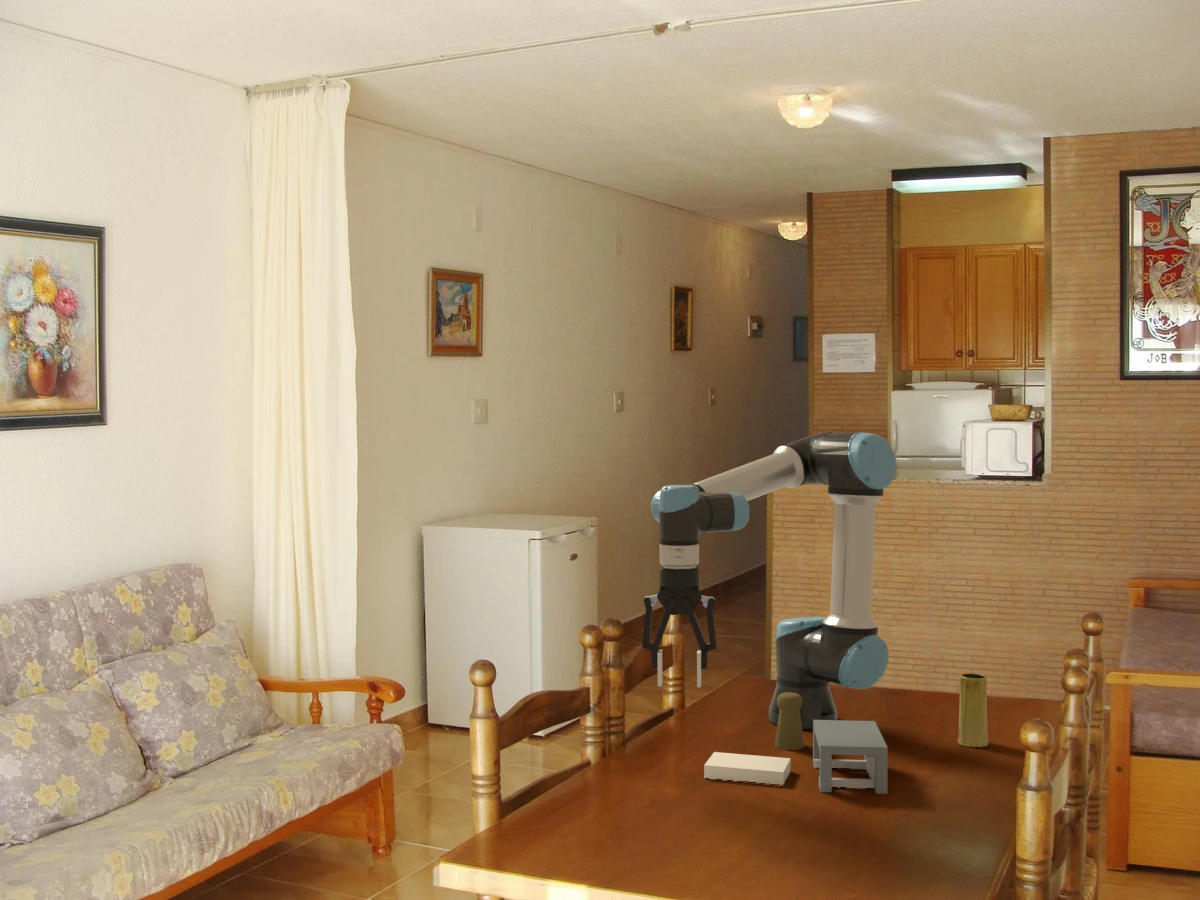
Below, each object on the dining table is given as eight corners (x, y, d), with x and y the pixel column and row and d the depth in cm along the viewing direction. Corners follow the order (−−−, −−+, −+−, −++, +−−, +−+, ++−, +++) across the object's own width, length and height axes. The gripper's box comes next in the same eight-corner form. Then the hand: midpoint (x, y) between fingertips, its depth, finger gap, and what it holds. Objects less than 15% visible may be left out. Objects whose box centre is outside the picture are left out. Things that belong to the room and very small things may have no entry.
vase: (992, 747, 243) (992, 679, 242) (962, 747, 243) (962, 679, 243) (983, 739, 249) (983, 672, 249) (953, 739, 249) (954, 672, 249)
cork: (803, 742, 248) (803, 690, 247) (805, 750, 242) (805, 697, 241) (774, 741, 248) (774, 689, 248) (775, 749, 242) (775, 696, 242)
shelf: (813, 762, 234) (813, 719, 233) (874, 763, 233) (875, 721, 232) (820, 791, 216) (820, 745, 216) (887, 793, 215) (887, 747, 214)
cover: (714, 767, 233) (714, 751, 233) (790, 773, 228) (790, 758, 228) (704, 780, 224) (704, 765, 224) (783, 788, 220) (783, 772, 220)
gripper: (626, 568, 223) (626, 688, 224) (731, 569, 221) (731, 691, 222) (629, 562, 231) (629, 679, 232) (731, 563, 229) (731, 681, 230)
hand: (679, 685), depth 227 cm, fingers open, 7 cm apart
